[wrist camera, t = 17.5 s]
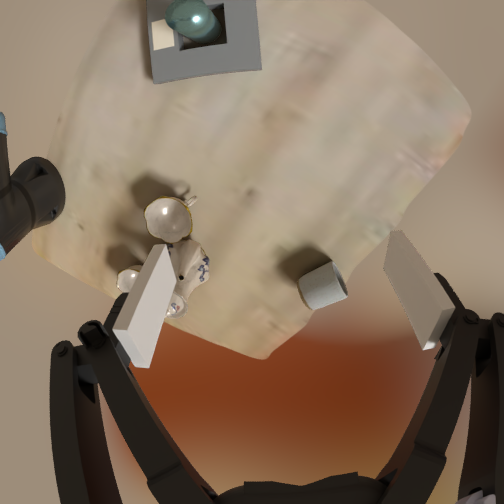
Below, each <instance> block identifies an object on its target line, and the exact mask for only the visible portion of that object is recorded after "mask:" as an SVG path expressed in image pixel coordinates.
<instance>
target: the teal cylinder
mask: <svg viewBox="0 0 504 504" xmlns="http://www.w3.org/2000/svg"><path fill="white" fill-rule="evenodd" d="M165 21H166V23H167V25H168V26H169V27H170V28H171V29H173V30H175V31H177V32H179V33H181V34H182V35H184V36H186V37H188V38H190V39H191V40H193V41H195V42H197V43H200V44H208V43H211V42H213V41H215V40H216V39H217V38H218V37H219V35H220V33H221V24H220V22H219V21H218V20H217V18H216V17H215V15H214V14H213V13H212V11H211V10H210V9H209V8H208V6H207V5H206V4H205V2H204V1H203V0H174V1H173V2H172V3H171V4H170V5H169V6H168V8H167V10H166V12H165Z"/></svg>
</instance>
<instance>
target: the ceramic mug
mask: <svg viewBox="0 0 504 504" xmlns="http://www.w3.org/2000/svg"><path fill="white" fill-rule="evenodd" d="M297 287H298V291H299V294H300V297H301V299H302V301H303V303H304V304H305V306H306V307H307V308H309V309H311V310H315V309H319V308H322V307H324V306H326V305H329V304H332V303H335V302H337V301H340V300H342V299H345V298H347V297H348V292H347V288H346V285H345V283H344V280H343V278H342V275H341V273H340V271H339V269H338V267H337V266H336V264H335V263H334V262H333V261H331V262H329V263H327V264H325V265H323V266H321V267H319V268H317V269H315V270H313V271H311V272H309V273H307V274H305V275H303V276H302V277H301V278H299V280H298V282H297Z"/></svg>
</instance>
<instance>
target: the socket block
mask: <svg viewBox="0 0 504 504" xmlns="http://www.w3.org/2000/svg"><path fill="white" fill-rule="evenodd" d="M173 1H174V0H146V5H147V21H148V34H149V46H150V56H151V66H152V74H153V83H154V84H161V83H166V82H171V81H176V80H182V79H188V78H194V77H200V76H207V75H214V74H223V73H232V72H243V71H256V70H262V65H261V53H260V41H259V30H258V19H257V9H256V0H203V1H204V2H205V4H206V5H207V6H208V8H209V9H210V10H213V9H220V8H224V12H225V24H226V35H227V44H219V45H211V46H205V47H198V48H192V49H187V50H184V42H183V35H182V34H181V33H179V32H177V31H175V30H173V29H171V28H170V27H169V26H168V25H167V23H166V21H165V12H166V10H167V8H168V6H169V5H170V4H171V3H172V2H173Z"/></svg>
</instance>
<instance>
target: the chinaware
mask: <svg viewBox="0 0 504 504" xmlns="http://www.w3.org/2000/svg"><path fill="white" fill-rule="evenodd" d="M196 200H197V196H193V197H192V198H190V199H189V200H188V201H187V200H184V201H182V200H180V199H178V198H175V197H167V196H161V197H159V198H157V199H155V200H154V202H151V203H150V204H149V205H148V206H147V207H146V208H145V209H144V218H145V220H146V221H147V222H146V226H147V230H148V232H149V234H151V235H152V236H153V237H156V238H162V240H164V241H165V242H166V243H169V244H168V245H167V249H168V253H169V256H170V260H171V263H172V267H173V270H174V274H175V277H176V280H177V281H176V284H175V287H174V290H173V293H172V296H171V299H170V302H169V305H168V308H167V311H166V314H165V317H168V318H179V317H183V316H184V315H185V314H186V313H187V310H188V305H187V300H188V297H189V295H190V293H191V292H192V291H193V290H194V289H195V288H196V287H197V286H199V285H200V284H202V283H204V282H205V281H207V280H208V279H209V258H208V257H207V256H206V254H205V252H204V250H203V249H202V248H201V247H200V244H199V243H197V242H195V241H192V240H190V239H189V240H181V239H183V238H184V237H187V236H188V235H189V234H190V233H192V219H191V213H190V211H189V208H188V207H190V206H191V205H193V204H194V203H195V202H196ZM188 203H189V204H188ZM142 267H143V265H141V264H140V265H134V266H131V267H129V268H127V269H124V270H120V271H119V273H118V279H117V287H118V289H119V290H120V291H122V292H130V290H131V288H132V286H133V284H134V282H135V280H136V278H137V276H138V274H139V272H140V271H141V269H142ZM165 317H164V319H165ZM163 322H164V320H163Z"/></svg>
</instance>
